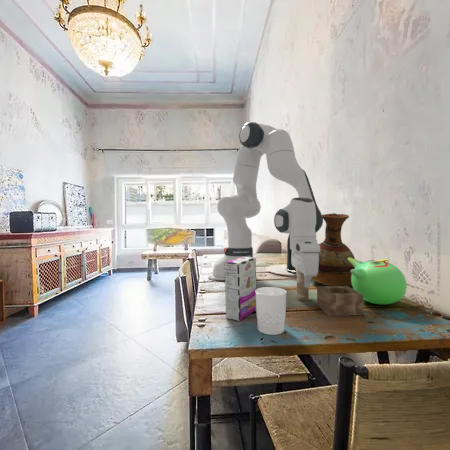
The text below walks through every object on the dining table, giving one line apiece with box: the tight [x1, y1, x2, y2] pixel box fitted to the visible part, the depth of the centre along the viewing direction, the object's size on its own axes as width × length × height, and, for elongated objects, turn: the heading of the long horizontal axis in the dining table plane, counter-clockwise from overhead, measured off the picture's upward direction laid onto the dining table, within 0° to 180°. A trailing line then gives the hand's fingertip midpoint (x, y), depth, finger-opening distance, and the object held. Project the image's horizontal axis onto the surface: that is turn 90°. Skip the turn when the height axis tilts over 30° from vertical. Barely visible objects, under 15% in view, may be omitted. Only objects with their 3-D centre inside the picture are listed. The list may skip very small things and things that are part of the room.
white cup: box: [255, 286, 288, 336], centre depth 69 cm, size 8×8×10 cm
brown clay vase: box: [311, 213, 356, 286], centre depth 115 cm, size 20×20×30 cm
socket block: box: [316, 285, 364, 317], centre depth 83 cm, size 10×10×6 cm
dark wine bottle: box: [286, 233, 296, 271], centre depth 141 cm, size 10×10×33 cm
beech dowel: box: [296, 265, 310, 302], centre depth 94 cm, size 4×4×12 cm
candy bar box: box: [224, 256, 257, 322], centre depth 80 cm, size 11×5×16 cm, turn 148°
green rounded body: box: [347, 258, 408, 306], centre depth 90 cm, size 18×17×15 cm
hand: (303, 283), depth 94 cm, fingers open, 7 cm apart
